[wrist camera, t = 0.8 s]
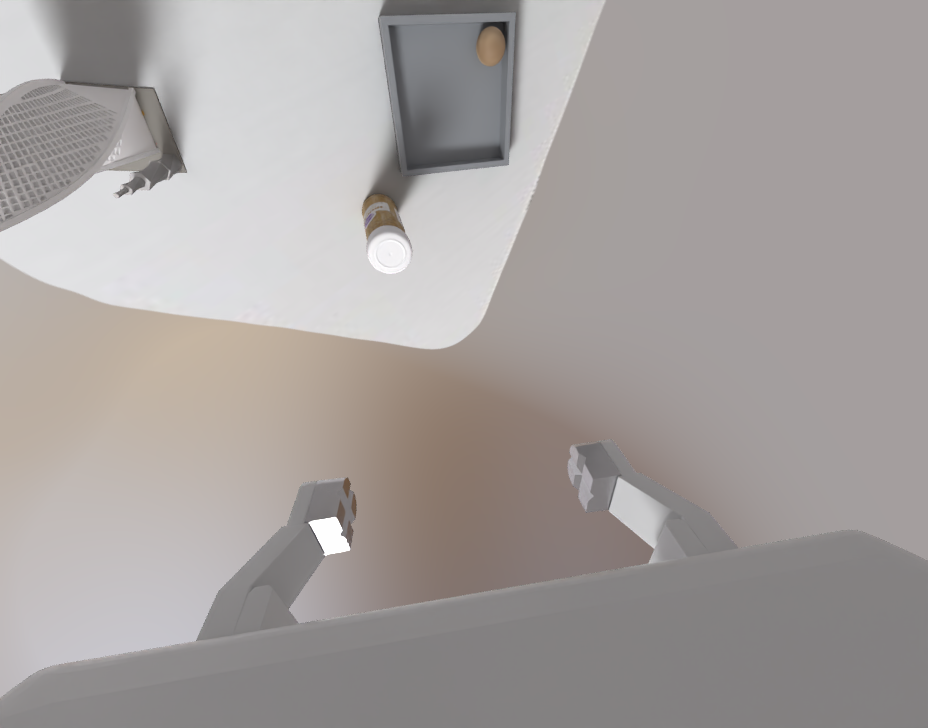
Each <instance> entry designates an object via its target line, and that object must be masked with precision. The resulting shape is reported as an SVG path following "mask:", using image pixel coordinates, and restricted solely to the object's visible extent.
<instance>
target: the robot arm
mask: <svg viewBox="0 0 928 728" xmlns="http://www.w3.org/2000/svg"><path fill="white" fill-rule="evenodd" d="M569 453H570V455H571V458H570V459H569V460H568V467H567V468H568V474H569V478H570V481H571V482H572V485H573V487H575V488H576V489H578V490H579V494H578V498H579V500H580V502H581V504H582V506H583V508H584V510H585V512H586V513H587V512H595V511H603V510H609V512H611V513H612V514H613V515H614V516H616V517H617V518H618V519H619V520H620V521H621V522H623V523H624V524H625V525H626V526H627V527H629V528H630V529H631V530H632V531H633V532H635V533H636V534H637V535H638V536H639V537H641V538H642V539H643V540H644V541H645V542H647V543H648V544H649V545H650V546H651V547H653V548H654V551H653V554H652V556H651V559H650V561H649V563H648V564H644V565H638V566H633V567H626V568H620V569H615V570H609V571H603V572H597V573H591V574H586V575H580V576H574V577H568V578H562V579H556V580H551V581H545V582H539V583H533V584H527V585H521V586H515V587H509V588H504V589H497V590H492V591H486V592H480V593H475V594H468V595H463V596H457V597H452V598H445V599H439V600H434V601H428V602H422V603H416V604H411V605H404V606H399V607H393V608H387V609H381V610H375V611H370V612H364V613H358V614H352V615H346V616H340V617H335V618H329V619H323V620H317V621H312V622H305V623H300V624H299V623H298V622H297V620H296V619H295V618H294V616H293V615H292V614H291V612H290V611H289V610H288V609H289V608H290V606H291V605H292V603H293V602H294V600H295V599H296V597H297V596H298V595H299V593H300V592H301V590H302V589H303V587H304V586H305V584H306V583H307V582H308V580H309V579H310V577H311V576H312V574H313V573H314V571H315V570H316V569H317V567H318V565H319V564H320V563H321V561H322V560H323V558H324V557H325V554H330V553H335V552H341V551H346V550H350V549H351V543H352V536H353V529H352V526H351V524H352V522H353V521H354V520H355V518H356V498H355V494H354V492H353V491H351V490H350V485H351V483H350V481H349V479H348V478H338V479H330V480H321V481H314V482H305V483H303V484H302V485H301V486H300V488H299V491H298V494H297V497H296V500H295V503H294V506H293V509H292V511H291V514H290V517H289V520H288V523H287V526H284V527H281V528H280V529H279V530H278V532H276V533H275V534H274V535H273V536H272V537H271V539H270V540H269V541H268V542H267V543H266V544H265V545H264V546H263V547H262V548H261V549H260V550H259V551H258V552H257V553H256V554H255V555H254V556H253V557H252V558H251V559H250V560H249V561H248V562H247V563H246V564H245V565H244V566H243V567H242V568H241V569H240V570H239V571H238V572H237V573H236V574H235V575H234V576H233V577H232V578H231V579H230V580H229V581H228V582H227V583H226V584H225V585H224V586H223V587H222V588H221V589H220V590H219V592H218V593H217V595H216V598H215V600H214V602H213V604H212V607H211V609H210V611H209V613H208V615H207V618H206V620H205V622H204V625H203V627H202V629H201V631H200V633H199V635H198V638H197V640H196V641H195V642H188V643H183V644H177V645H171V646H165V647H159V648H153V649H147V650H141V651H135V652H130V653H124V654H118V655H112V656H106V657H101V658H94V659H88V660H82V661H76V662H70V663H64V664H59V665H54V666H50V667H47V668H44V669H42V670H39V671H37V672H36V673H34V674H33V675H31V676H29V677H28V678H26V679H25V680H24V681H22V682H21V683H19V684H18V685H17V686H15V687H14V688H12V689H11V690H10V691H9V692H7V693H6V694H5V695H3V696H2V697H1V698H0V728H928V561H927V560H925V559H923V558H921V557H919V556H917V555H915V554H913V553H910V552H908V551H906V550H904V549H902V548H900V547H897V546H895V545H893V544H891V543H889V542H887V541H884V540H882V539H880V538H877V537H875V536H872V535H870V534H867V533H865V532H862V531H858V530H842V531H836V532H830V533H824V534H819V535H813V536H807V537H802V538H795V539H789V540H783V541H778V542H772V543H766V544H761V545H755V546H749V547H743V548H738V547H737V546H736V544H735V543H734V542H733V541H732V540H731V538H730V537H729V536H728V535H727V533H726V532H725V531H724V530H723V529H722V527H721V526H720V525H719V524H718V523H717V521H716V520H715V519H714V518H713V516H712V515H711V514H710V513H709V512H707V511H706V510H704V509H702V508H700V507H699V506H697V505H695V504H694V503H692V502H690V501H688V500H687V499H685V498H683V497H681V496H680V495H678V494H676V493H675V492H673V491H671V490H669V489H668V488H666V487H664V486H662V485H661V484H659V483H657V482H655V481H654V480H652V479H650V478H649V477H647V476H645V475H643V474H642V473H636V472H635V470H634V469H633V467H632V466H631V464H630V463H629V462H628V460H627V459H626V457H625V456H624V455H623V453H622V452H621V451H620V449H619V448H618V446H617V445H616V443H615V442H614V441H613V440H611V439H610V440H603V441H598V442H597V441H596V442H589V443H582V444H576V445H572V446H571V447H570V452H569Z"/></svg>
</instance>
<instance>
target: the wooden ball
mask: <svg viewBox="0 0 928 728" xmlns="http://www.w3.org/2000/svg"><path fill="white" fill-rule="evenodd" d="M476 52H477V56H478V58H479V60H480V61H481V63H482V64H484V65H486V66H495V65H496V64H498V63H499V62H500V61H501V59H502V58H503V55H504V52H505V38H504V36H503V34H502V32H501V31H500V30H499V29H498V28H496V27H493V26H490V27H487V28H485V29H484V30H482V32H481V33H480V35H479V36H478V39H477V43H476Z"/></svg>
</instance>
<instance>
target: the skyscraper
mask: <svg viewBox="0 0 928 728" xmlns="http://www.w3.org/2000/svg"><path fill="white" fill-rule="evenodd" d="M106 170H115V171H139V172H134V173H130V179H129V183H126V184H123V185H121V186H120V191H119V192H116V193H114V194H113V196H114V197H115V198H119V197H121V196H122V195H123V194H126V195H132V194H133V193H134V192H135V191H136V190H150V189H151V188H152V187H153V186H154V185H155V184H156V183H158V182H160V181H162V180H169V179H170V178H171V177H172V176H173V174H176V173H187V171H186V169H185V166H184V164H183V161H182V159H181V156H180V154H179V151H178V149H177V146H176V143H175V141H174V138H173V136H172V133H171V131H170V128H169V126H168V123H167V121H166V118H165V116H164V113H163V111H162V108H161V105H160V103H159V100H158V98H157V95H156V93H155V90H154V89H147V88H135V87H123V86H111V85H99V84H87V83H75V82H65V81H62V80H56V79H38V80H31V81H28V82H25V83H22V84H20V85H18V86H16V87H14V88H12V89H11V90H9V91H8V92H6V93H4V94H0V232H1V231H3V230H5V229H8V228H10V227H12V226H14V225H16V224H18V223H20V222H23V221H25V220H27V219H28V218H30V217H32V216H34V215H36V214H38V213H40V212H42V211H44V210H46V209H47V208H49V207H51V206H52V205H54V204H56V203H57V202H59V201H61V200H62V199H64V198H65V197H67V196H68V195H70V194H71V193H72V192H74V191H75V190H77V189H78V188H79V187H81V186H82V185H83V184H84V183H85V182H86V181H87V180H89V179H90V178H91V177H92V176H93V175H94V174H95V173H99V172H102V171H106Z"/></svg>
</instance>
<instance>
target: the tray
mask: <svg viewBox="0 0 928 728" xmlns="http://www.w3.org/2000/svg"><path fill="white" fill-rule="evenodd" d="M515 16H516V12H508V13H470V14H433V15H396V16H380V17H379V18H378V21H379V28H380V35H381V42H382V48H383V55H384V62H385V69H386V76H387V83H388V90H389V97H390V103H391V110H392V117H393V124H394V131H395V138H396V145H397V152H398V158H399V165H400V172H401V174H402V175H403V176H412V175H422V174H431V173H440V172H449V171H459V170H468V169H477V168H486V167H495V166H505V165H509V148H510V126H511V104H512V82H513V60H514V38H515ZM490 26H493V27H496V28H498V29H499V30H500V31H501V32H502V34H503V36H504V38H505V52H504V55H503V58H502V59H501V61H500V62H499V63H498V64H496V65H495V66H486V65H484V64H482V63H481V61H480V60H479V58H478V56H477V52H476V43H477V39H478V36H479V35H480V33H481V32H482V30H484V29H485V28H487V27H490Z"/></svg>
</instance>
